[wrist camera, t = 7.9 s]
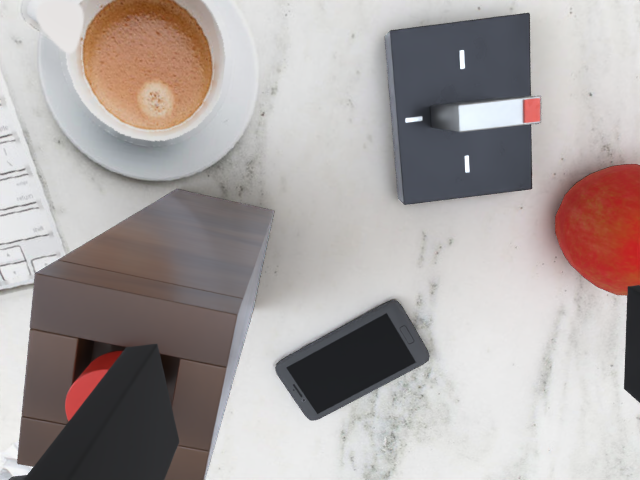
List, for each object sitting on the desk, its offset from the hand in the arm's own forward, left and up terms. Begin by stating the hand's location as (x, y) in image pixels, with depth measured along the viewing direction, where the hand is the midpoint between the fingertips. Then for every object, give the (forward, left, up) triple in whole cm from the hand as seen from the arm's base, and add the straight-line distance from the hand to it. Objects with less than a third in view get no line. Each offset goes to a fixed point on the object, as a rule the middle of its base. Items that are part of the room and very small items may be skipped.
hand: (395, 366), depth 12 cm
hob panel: (-8, +9, -34) cm, 36 cm away
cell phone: (+17, +6, -34) cm, 39 cm away
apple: (-2, +25, -34) cm, 42 cm away
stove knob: (-8, +9, -31) cm, 33 cm away
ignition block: (+9, -9, -34) cm, 36 cm away
